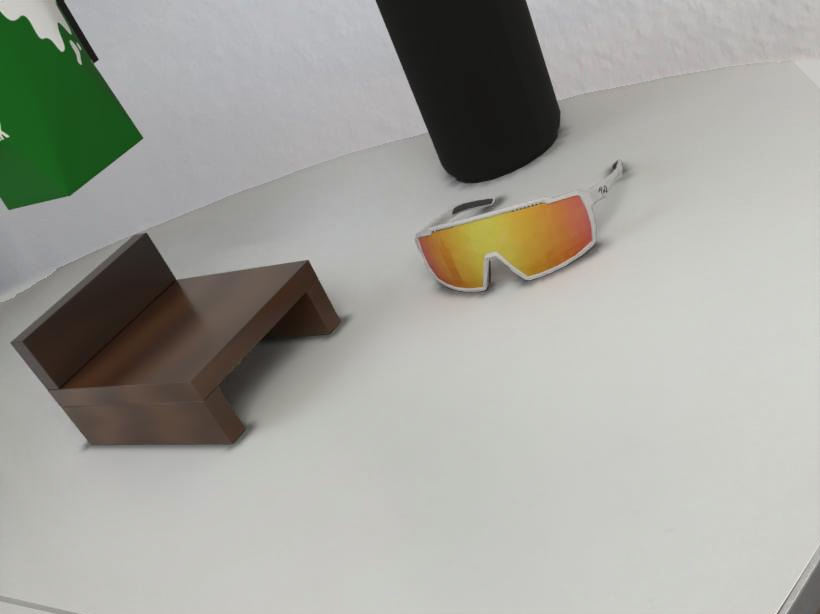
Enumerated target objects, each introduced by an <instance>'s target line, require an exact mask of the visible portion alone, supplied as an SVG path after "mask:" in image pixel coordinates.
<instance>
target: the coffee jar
mask: <svg viewBox="0 0 820 614" xmlns="http://www.w3.org/2000/svg"><path fill="white" fill-rule="evenodd" d="M374 1H375V3H376V6H377V8H378V12H379V13H380V16H381V18H382V20H383V23H384V25H385V28H386V30H387V33H388V36H389V38H390V40H391V43H392V46H393V48H394V50H395V53H396V55H397V58H398V60H399V63H400V65H401V67H402V71H403V72H404V75H405V78H406V80H407V83H408V86H409V88H410V90H411V92H412V95H413V99H414V100H415V104H416V106H417V107H418V110H419V112H420V115H421V117H422V120H423V123H424V125H425V128H426V130H427V132H428V135H429V137H430V140H431V143H432V145H433V147H434V150H435V152H436V154H437V158H438V160H439V162H440V164H441V165H440V166H441V167H442V168H443V169H444V171H445V172H446V173H447V174H448V175H449V176H451V177H453V178H454V179H455V180H456V181H457V182H460V183H465V184H472V183H473V184H474V183H482V182H487V181H489V180H494V179H497V178H500V177H502V176H505V175H507V174H510V173H512V172H514V171H516V170H519V169H520V168H522V167H524V166H526V165H528V164H529V163H531V162H532V161H534V160H536V159H537V158H538V157H540V156H542V155H543V154H544V153H545V152H546V151H547V150H548V149H550V148H551V146H552V145H554V143H555V141H556V140H557V138H558V135H559V129H560V125H561V113H562V112H561V109H560V106H559V103H558V99H557V96H556V92H555V90H554V86H553V83H552V79H551V76H550V73H549V70H548V67H547V64H546V63H547V62H546V59H545V57H544V54H543V51H542V47H541V44H540V42H539V37H538V34H537V32H536V28H535V25H534V22H533V18H532V15H531V11H530V9H529V5H528V1H527V0H374Z"/></svg>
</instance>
